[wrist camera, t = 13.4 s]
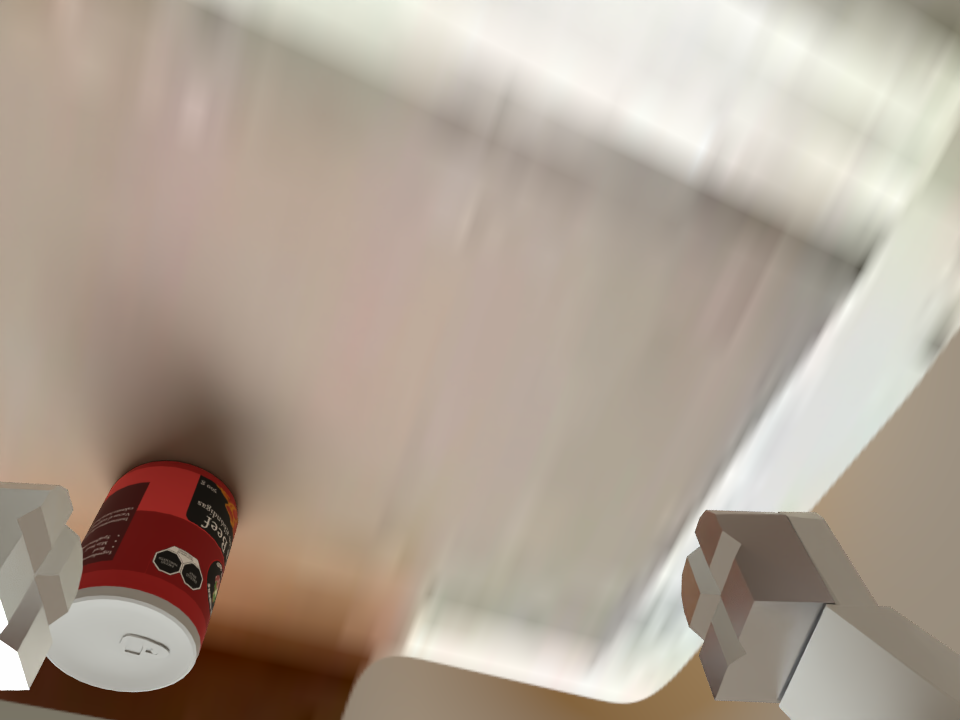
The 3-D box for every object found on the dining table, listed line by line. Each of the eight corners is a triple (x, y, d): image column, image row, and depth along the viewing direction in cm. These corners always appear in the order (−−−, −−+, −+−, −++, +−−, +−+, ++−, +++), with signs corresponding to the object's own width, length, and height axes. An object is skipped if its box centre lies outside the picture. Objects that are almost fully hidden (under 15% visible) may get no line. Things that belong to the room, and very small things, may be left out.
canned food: (241, 551, 52) (199, 697, 43) (117, 542, 51) (46, 690, 42) (241, 462, 48) (195, 601, 39) (106, 451, 47) (26, 590, 38)
